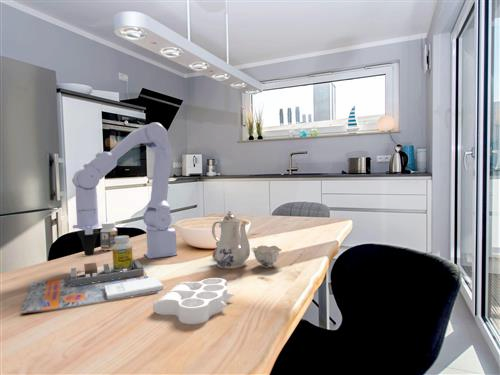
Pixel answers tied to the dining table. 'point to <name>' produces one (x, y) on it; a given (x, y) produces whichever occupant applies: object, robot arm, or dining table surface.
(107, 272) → the slot rack
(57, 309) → the dining table surface
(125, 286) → the external hard drive
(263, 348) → the dining table surface
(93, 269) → the walnut bar
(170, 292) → the white egg tray
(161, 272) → the dining table surface
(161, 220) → the robot arm
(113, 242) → the pill bottle
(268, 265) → the chinaware
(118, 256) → the supplement bottle
